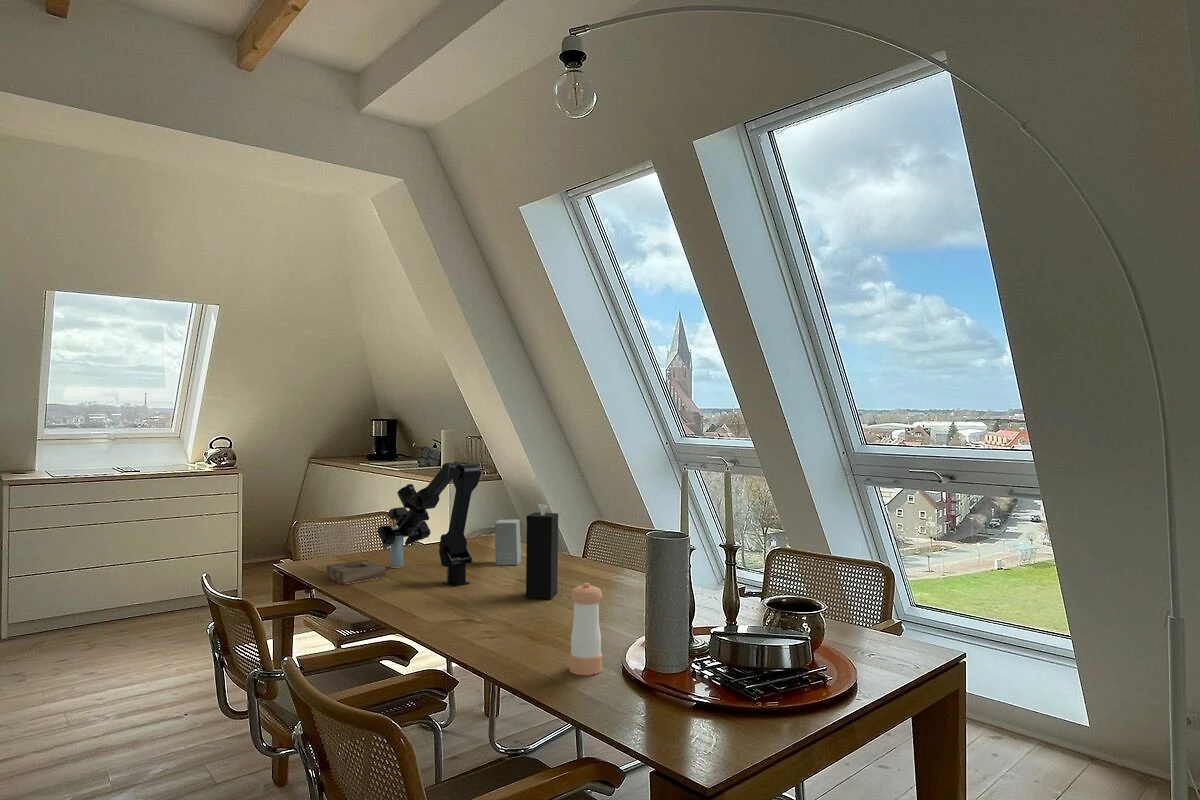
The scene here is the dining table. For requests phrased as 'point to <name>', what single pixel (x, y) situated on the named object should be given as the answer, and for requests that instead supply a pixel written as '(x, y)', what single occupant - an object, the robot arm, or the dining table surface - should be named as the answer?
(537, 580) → the tissue box
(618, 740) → the dining table surface
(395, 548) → the peg
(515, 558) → the skincare box
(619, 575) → the dining table surface
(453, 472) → the robot arm
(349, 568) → the socket block
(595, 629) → the salt shaker
